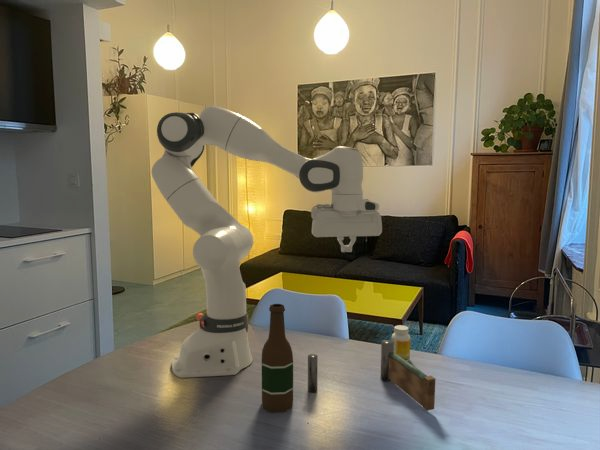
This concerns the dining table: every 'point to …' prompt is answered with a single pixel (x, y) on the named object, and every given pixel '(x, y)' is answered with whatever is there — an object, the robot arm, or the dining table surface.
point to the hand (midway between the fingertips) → (346, 251)
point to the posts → (386, 348)
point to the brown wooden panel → (412, 381)
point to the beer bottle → (277, 365)
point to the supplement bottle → (401, 342)
